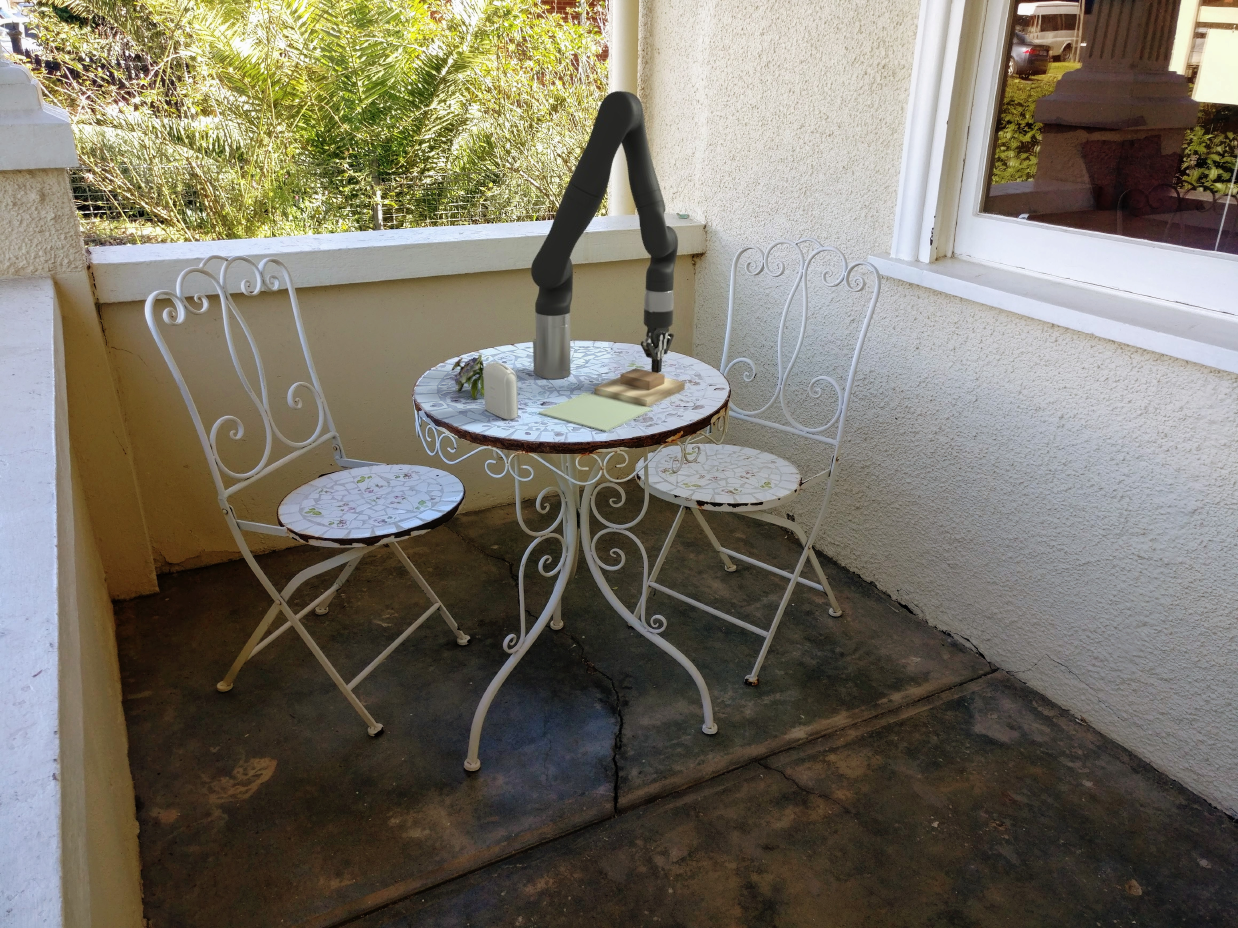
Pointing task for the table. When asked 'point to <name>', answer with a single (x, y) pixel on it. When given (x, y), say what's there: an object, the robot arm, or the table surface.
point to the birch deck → (639, 392)
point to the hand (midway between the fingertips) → (656, 372)
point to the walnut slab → (642, 379)
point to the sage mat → (596, 411)
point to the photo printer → (500, 390)
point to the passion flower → (470, 375)
